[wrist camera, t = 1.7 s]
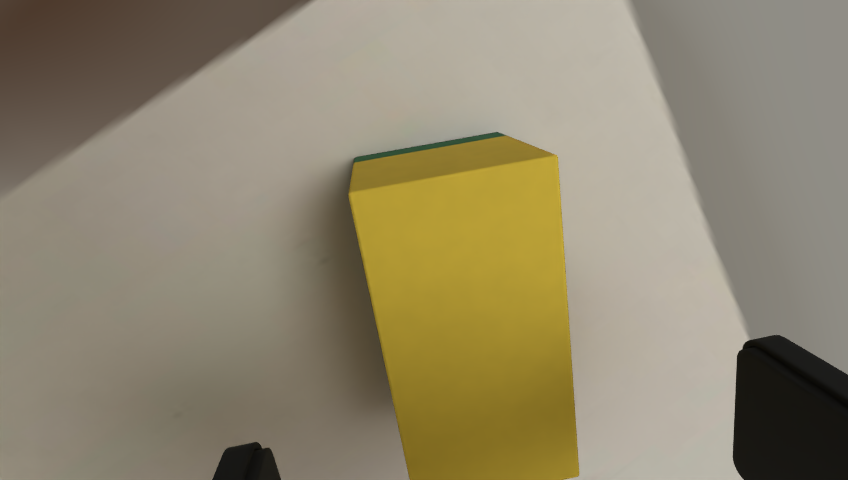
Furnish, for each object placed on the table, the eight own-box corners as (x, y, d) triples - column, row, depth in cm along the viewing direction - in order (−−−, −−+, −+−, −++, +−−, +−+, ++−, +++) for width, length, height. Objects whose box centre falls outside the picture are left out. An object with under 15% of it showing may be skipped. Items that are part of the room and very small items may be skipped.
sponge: (499, 131, 15) (558, 154, 10) (524, 373, 18) (580, 477, 13) (353, 157, 15) (347, 192, 10) (403, 398, 18) (416, 513, 13)
